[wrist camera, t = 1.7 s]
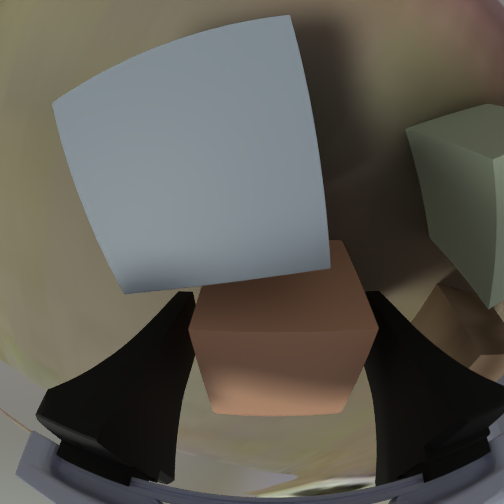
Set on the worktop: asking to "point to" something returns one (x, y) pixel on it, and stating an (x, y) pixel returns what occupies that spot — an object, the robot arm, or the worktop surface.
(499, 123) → the sage cube
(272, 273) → the slate cube
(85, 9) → the worktop surface
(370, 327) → the terracotta cube
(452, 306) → the walnut cube
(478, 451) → the robot arm
